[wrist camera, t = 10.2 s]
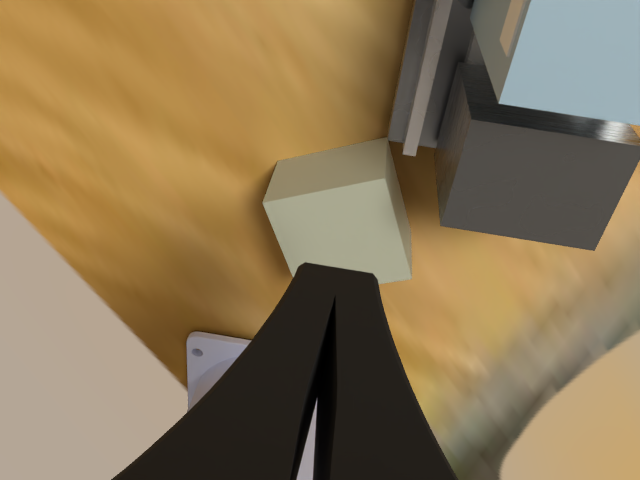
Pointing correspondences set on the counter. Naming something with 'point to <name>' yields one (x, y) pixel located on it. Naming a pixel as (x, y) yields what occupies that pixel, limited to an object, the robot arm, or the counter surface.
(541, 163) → the rail base
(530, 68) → the block
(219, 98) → the counter surface
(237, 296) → the counter surface
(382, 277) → the block
